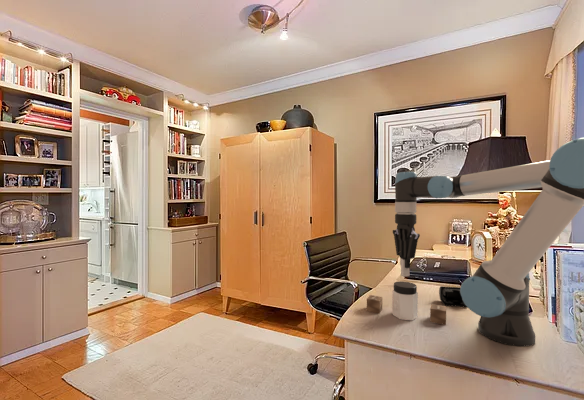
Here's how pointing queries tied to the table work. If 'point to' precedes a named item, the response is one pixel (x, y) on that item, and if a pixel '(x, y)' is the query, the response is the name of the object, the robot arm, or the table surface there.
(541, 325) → the table surface
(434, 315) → the walnut block
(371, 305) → the walnut block
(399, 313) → the jar
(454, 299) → the end cap
